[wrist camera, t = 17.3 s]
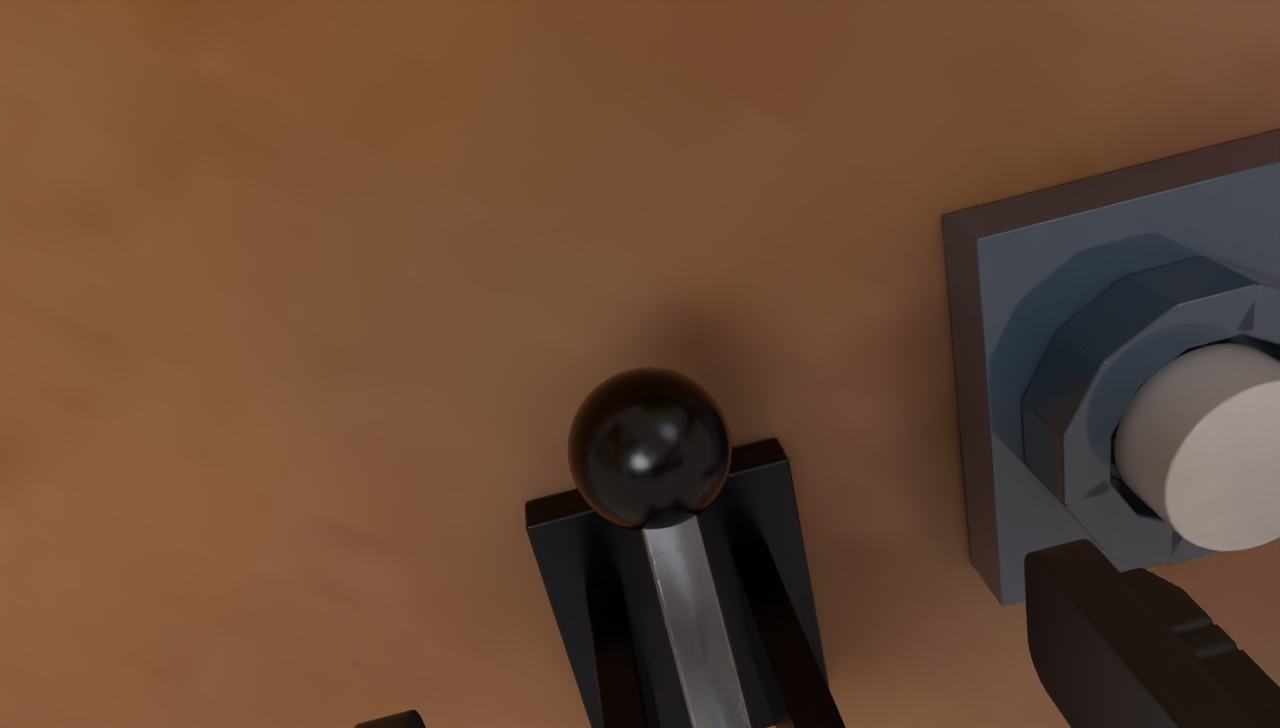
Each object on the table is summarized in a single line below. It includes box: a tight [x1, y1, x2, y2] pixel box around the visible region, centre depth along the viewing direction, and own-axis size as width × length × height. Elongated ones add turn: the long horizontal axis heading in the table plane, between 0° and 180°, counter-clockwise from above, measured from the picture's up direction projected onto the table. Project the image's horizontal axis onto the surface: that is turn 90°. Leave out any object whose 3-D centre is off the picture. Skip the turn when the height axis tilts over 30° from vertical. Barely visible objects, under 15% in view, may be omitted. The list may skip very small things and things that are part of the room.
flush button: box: [1114, 343, 1280, 551], centre depth 23 cm, size 4×4×2 cm
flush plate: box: [942, 130, 1280, 606], centre depth 25 cm, size 11×9×4 cm
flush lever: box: [568, 367, 752, 728], centre depth 19 cm, size 13×3×3 cm, turn 12°
